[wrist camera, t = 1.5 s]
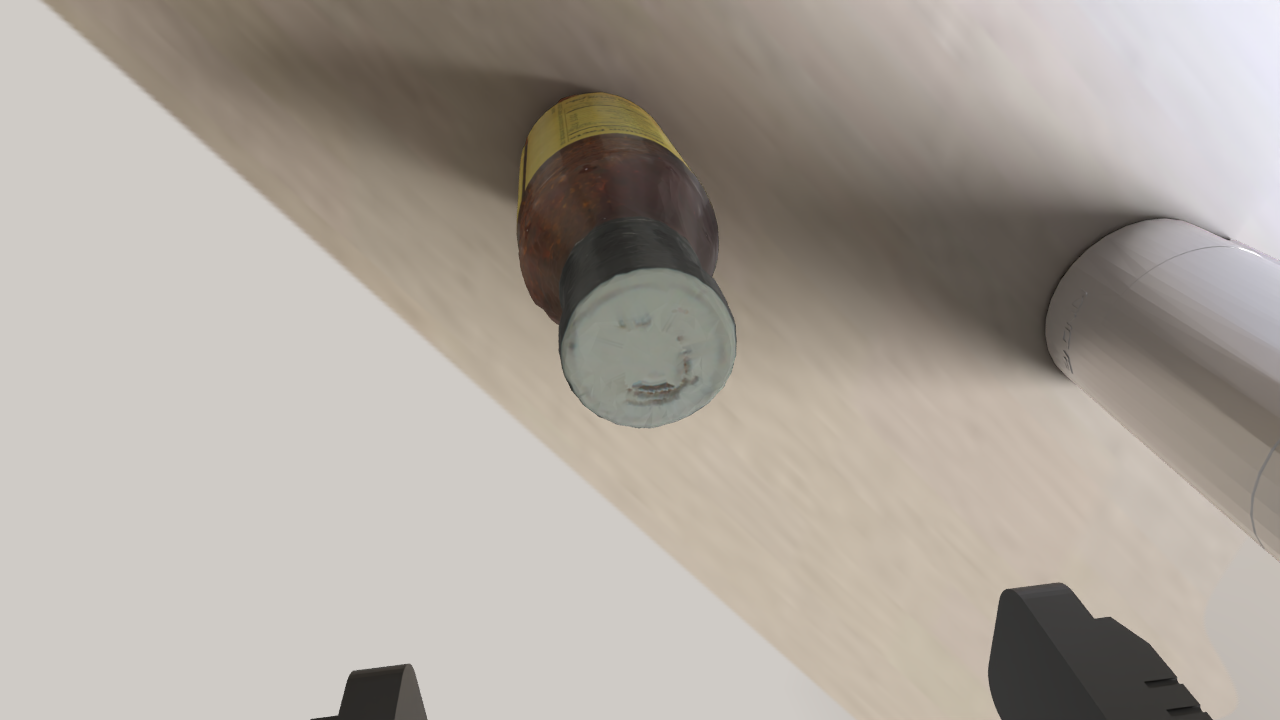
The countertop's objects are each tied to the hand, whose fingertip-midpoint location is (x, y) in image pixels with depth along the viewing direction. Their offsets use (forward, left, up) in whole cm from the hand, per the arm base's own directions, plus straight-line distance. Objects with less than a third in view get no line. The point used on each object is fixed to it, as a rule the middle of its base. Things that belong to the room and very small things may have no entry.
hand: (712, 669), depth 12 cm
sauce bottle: (0, 0, -29) cm, 29 cm away
